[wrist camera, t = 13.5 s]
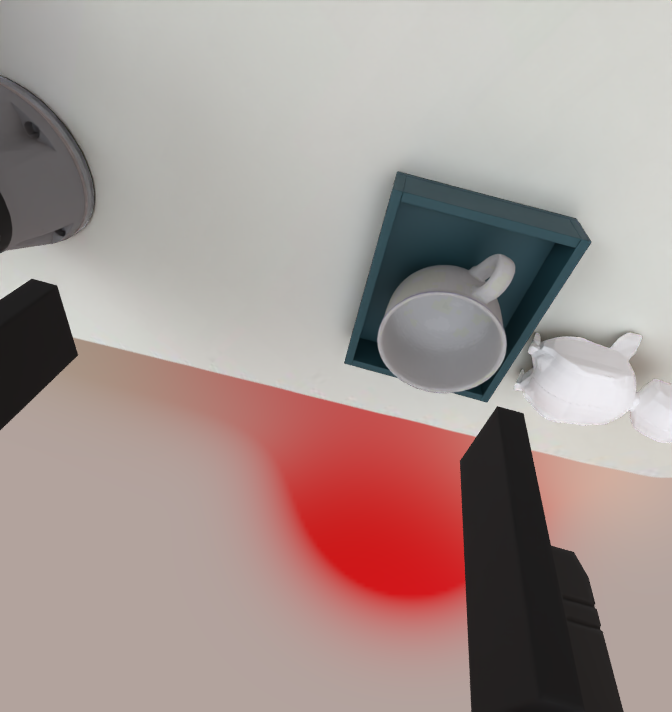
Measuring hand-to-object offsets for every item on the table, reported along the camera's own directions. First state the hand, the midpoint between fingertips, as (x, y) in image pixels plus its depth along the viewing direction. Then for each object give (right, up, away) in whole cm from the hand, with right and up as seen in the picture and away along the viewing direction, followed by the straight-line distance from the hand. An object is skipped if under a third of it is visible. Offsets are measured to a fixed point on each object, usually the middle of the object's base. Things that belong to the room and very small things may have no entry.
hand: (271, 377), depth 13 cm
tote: (+13, +8, +29) cm, 32 cm away
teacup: (+13, +7, +28) cm, 32 cm away
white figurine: (+29, 0, +31) cm, 42 cm away
